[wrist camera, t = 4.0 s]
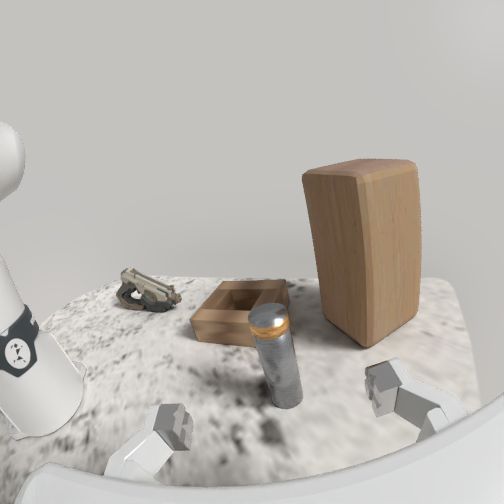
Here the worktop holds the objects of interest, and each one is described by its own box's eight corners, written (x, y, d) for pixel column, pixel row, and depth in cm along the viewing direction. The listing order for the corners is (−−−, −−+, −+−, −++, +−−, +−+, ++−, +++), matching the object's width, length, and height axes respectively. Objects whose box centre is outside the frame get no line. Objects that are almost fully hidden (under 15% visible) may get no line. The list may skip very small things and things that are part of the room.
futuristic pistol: (175, 334, 51) (177, 294, 46) (116, 303, 53) (112, 264, 48) (181, 326, 53) (184, 287, 48) (123, 297, 55) (120, 258, 51)
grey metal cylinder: (267, 407, 25) (241, 325, 22) (277, 384, 28) (255, 302, 24) (299, 410, 24) (281, 326, 20) (306, 386, 27) (291, 302, 23)
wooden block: (320, 317, 38) (296, 171, 31) (372, 289, 41) (359, 157, 34) (366, 353, 29) (355, 173, 22) (420, 315, 32) (419, 159, 25)
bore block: (198, 341, 39) (189, 319, 38) (229, 301, 48) (223, 281, 47) (268, 347, 34) (262, 323, 33) (289, 301, 44) (285, 279, 42)
